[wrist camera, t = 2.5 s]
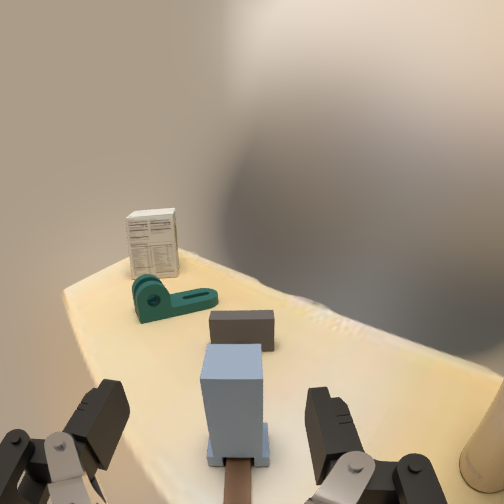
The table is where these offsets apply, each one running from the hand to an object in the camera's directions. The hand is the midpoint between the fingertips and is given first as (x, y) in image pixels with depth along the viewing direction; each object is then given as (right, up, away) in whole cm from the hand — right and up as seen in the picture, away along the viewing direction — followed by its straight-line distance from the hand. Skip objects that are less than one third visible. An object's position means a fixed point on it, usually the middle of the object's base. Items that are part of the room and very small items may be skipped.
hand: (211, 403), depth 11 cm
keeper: (0, -15, +16) cm, 22 cm away
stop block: (0, -9, +37) cm, 38 cm away
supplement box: (-26, 0, +74) cm, 78 cm away
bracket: (-14, -6, +51) cm, 53 cm away
